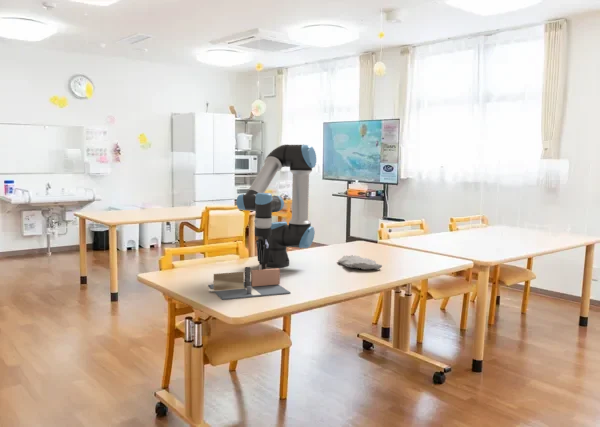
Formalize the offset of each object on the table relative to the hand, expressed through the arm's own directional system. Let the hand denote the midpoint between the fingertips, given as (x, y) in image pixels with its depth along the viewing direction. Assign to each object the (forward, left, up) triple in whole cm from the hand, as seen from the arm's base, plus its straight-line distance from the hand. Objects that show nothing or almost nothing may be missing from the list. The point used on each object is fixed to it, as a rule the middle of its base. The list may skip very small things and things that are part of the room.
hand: (262, 277), depth 240 cm
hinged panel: (+5, 0, -2) cm, 6 cm away
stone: (-22, +61, -4) cm, 65 cm away
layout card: (+7, -9, -3) cm, 12 cm away
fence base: (+5, -16, -2) cm, 17 cm away
